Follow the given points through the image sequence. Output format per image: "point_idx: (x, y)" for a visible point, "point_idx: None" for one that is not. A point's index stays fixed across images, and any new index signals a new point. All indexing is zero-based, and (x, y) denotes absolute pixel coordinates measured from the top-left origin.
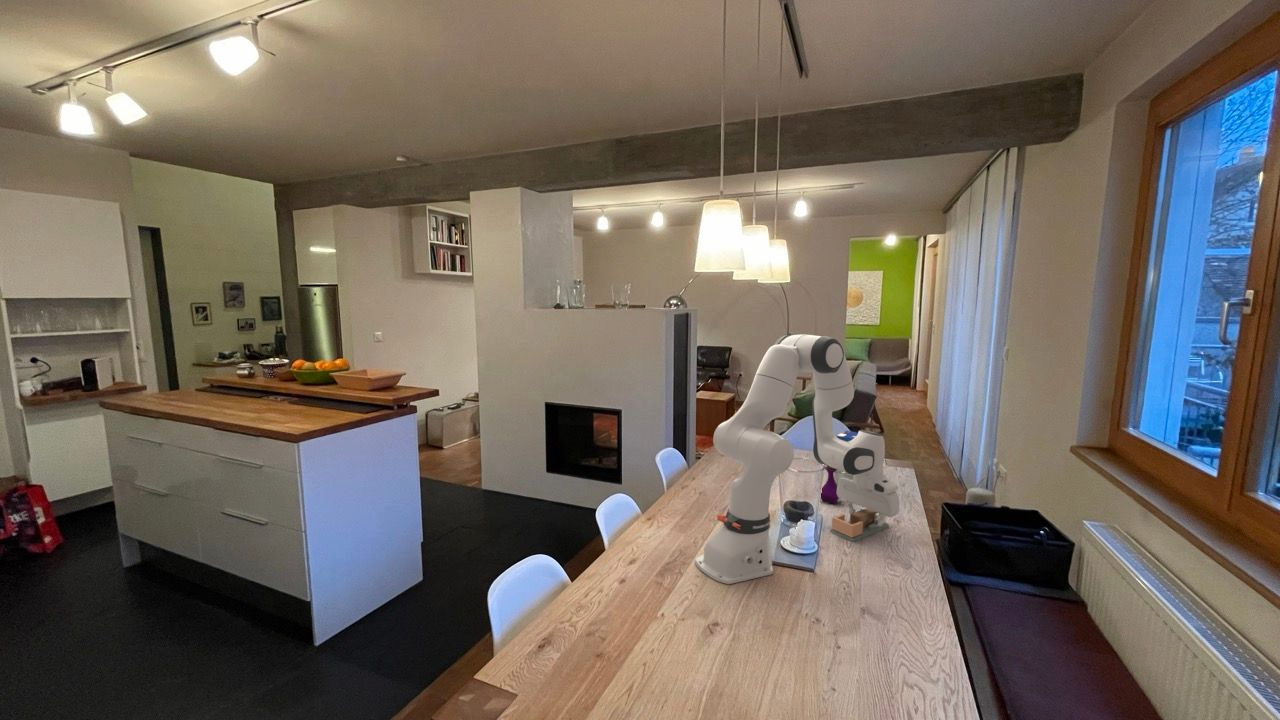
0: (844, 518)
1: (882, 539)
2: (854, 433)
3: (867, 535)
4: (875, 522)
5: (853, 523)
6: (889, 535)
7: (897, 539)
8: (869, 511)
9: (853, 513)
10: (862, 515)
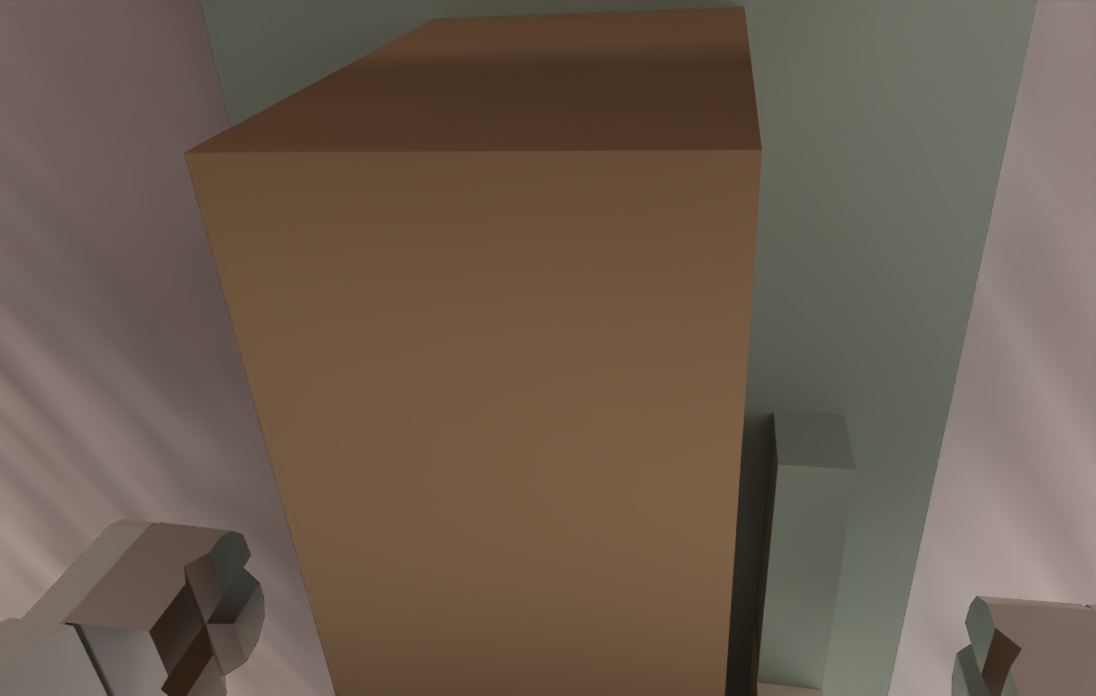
0: None
1: (56, 260)
2: None
3: None
4: (181, 561)
5: (577, 44)
6: (168, 508)
7: (13, 475)
8: None
9: (693, 370)
10: (317, 500)
